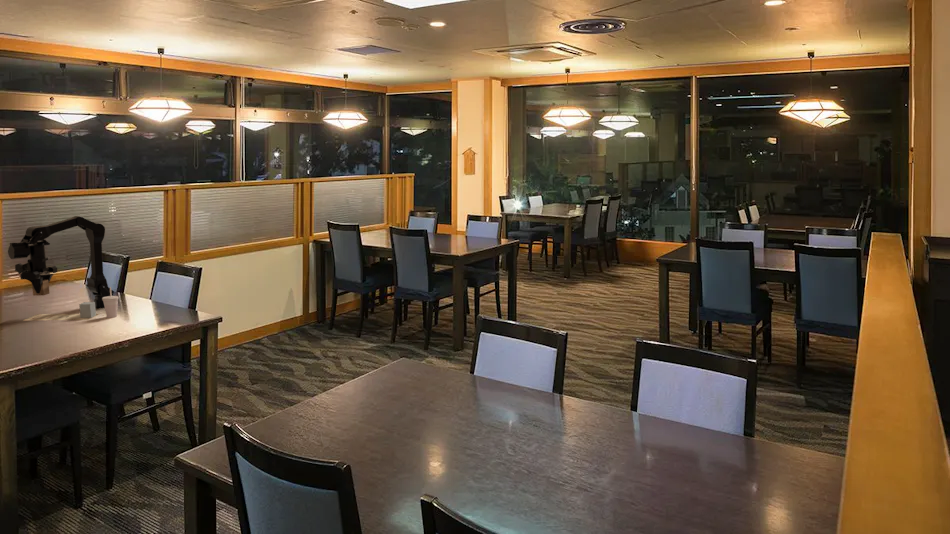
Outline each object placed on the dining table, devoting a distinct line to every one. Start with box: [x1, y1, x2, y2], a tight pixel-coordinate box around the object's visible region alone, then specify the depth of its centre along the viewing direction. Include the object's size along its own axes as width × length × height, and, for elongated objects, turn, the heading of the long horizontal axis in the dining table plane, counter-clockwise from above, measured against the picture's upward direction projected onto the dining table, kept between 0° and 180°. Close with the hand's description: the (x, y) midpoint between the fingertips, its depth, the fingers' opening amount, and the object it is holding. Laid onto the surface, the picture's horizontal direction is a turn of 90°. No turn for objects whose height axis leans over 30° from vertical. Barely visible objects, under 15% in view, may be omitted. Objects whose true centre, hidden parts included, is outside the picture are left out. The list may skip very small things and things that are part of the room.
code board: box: [22, 313, 100, 322], centre depth 311 cm, size 27×12×1 cm, turn 93°
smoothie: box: [102, 286, 119, 319], centre depth 310 cm, size 6×6×14 cm
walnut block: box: [31, 280, 50, 297], centre depth 308 cm, size 4×4×6 cm
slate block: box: [78, 301, 97, 319], centre depth 311 cm, size 4×4×6 cm
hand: (41, 292), depth 308 cm, fingers closed on walnut block, 4 cm apart
